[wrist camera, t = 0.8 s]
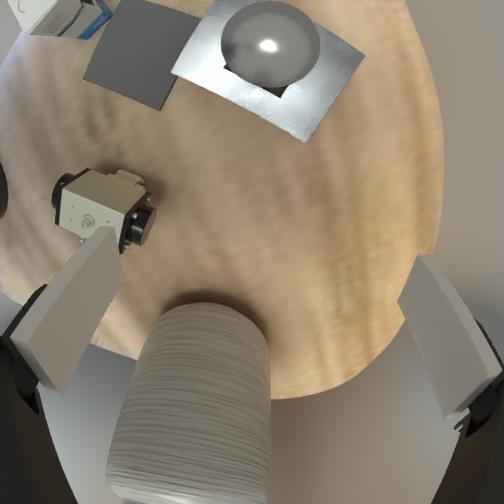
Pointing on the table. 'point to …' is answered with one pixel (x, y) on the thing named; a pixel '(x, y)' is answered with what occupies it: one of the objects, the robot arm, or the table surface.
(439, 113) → the table surface
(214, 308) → the vase
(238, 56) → the grey bottle
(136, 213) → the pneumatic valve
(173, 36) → the mat
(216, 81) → the frame
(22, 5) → the ink box
